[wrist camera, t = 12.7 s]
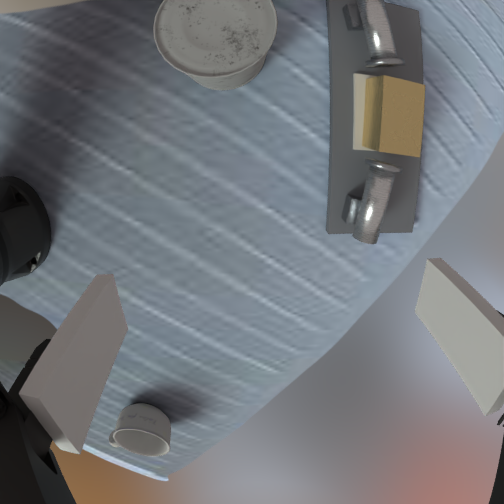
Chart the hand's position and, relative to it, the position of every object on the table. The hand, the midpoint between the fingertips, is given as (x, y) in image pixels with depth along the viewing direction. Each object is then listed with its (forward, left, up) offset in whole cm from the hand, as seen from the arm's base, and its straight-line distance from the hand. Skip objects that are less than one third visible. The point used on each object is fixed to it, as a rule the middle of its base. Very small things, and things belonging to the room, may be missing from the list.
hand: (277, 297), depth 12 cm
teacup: (-23, -44, -27) cm, 57 cm away
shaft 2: (+13, -2, -25) cm, 28 cm away
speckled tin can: (-3, +15, -27) cm, 30 cm away
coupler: (+15, +7, -25) cm, 30 cm away
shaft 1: (+13, +17, -25) cm, 33 cm away
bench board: (+15, +8, -26) cm, 31 cm away
